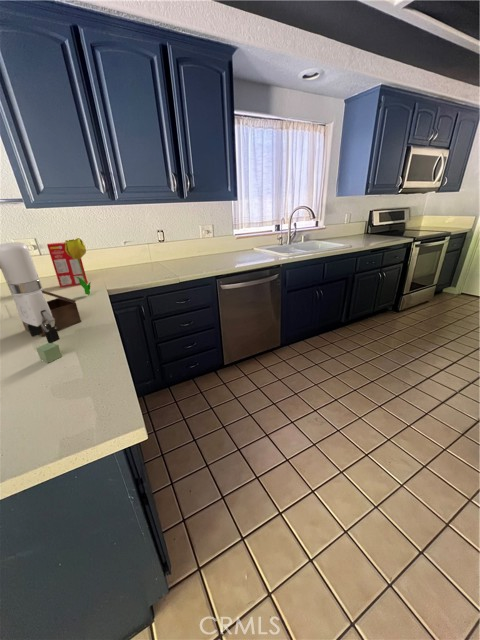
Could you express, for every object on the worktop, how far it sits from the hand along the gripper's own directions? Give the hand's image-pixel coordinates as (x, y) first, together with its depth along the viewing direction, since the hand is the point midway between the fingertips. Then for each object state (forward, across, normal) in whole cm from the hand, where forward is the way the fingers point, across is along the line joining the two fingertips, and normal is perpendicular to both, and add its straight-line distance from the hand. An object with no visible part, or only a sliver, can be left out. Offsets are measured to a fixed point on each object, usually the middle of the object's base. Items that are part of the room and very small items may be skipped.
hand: (45, 337), depth 84 cm
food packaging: (+8, -77, +54) cm, 94 cm away
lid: (-6, -25, +15) cm, 30 cm away
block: (+7, 0, 0) cm, 8 cm away
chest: (+7, -26, +14) cm, 30 cm away
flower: (+8, -49, +45) cm, 67 cm away
